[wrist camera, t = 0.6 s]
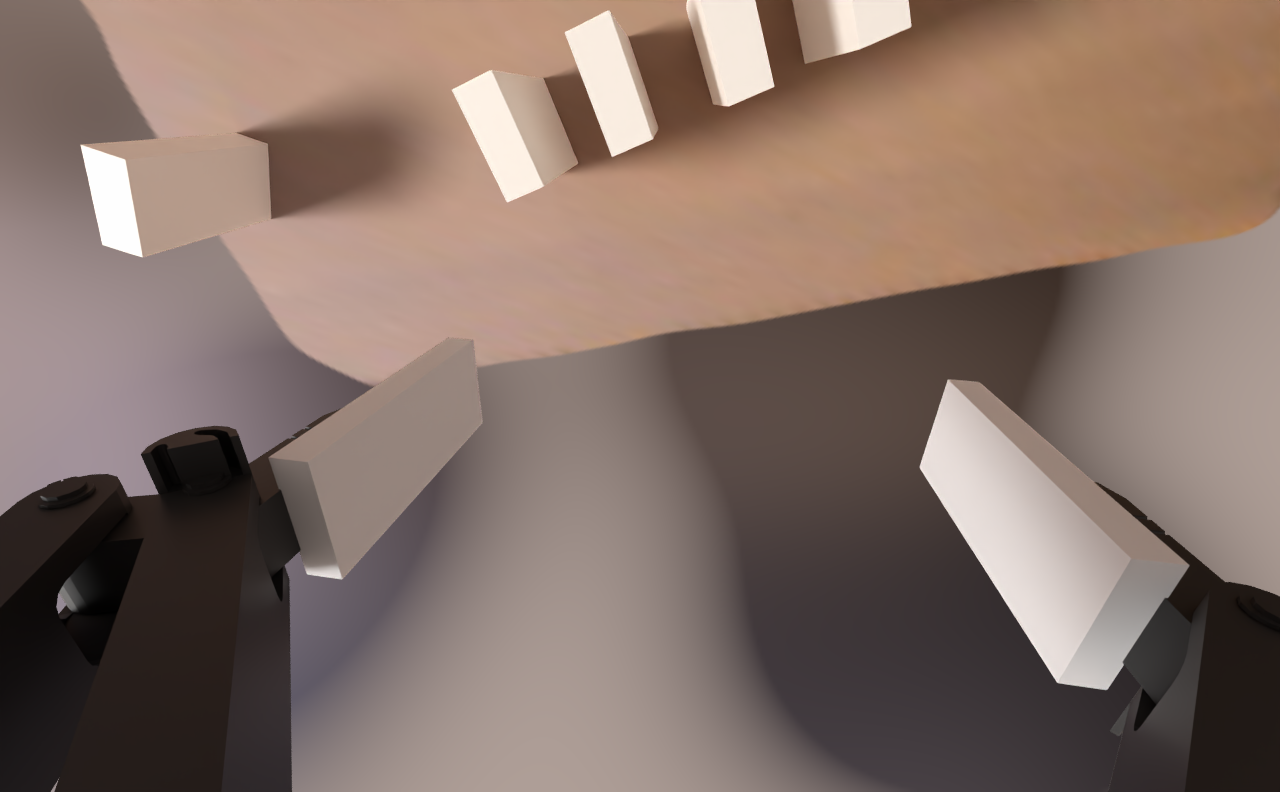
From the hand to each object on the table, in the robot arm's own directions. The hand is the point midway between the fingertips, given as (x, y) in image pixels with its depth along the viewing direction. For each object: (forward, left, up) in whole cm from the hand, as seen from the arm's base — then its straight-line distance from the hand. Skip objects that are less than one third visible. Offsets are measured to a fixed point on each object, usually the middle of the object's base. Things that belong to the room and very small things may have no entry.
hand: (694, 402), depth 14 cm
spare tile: (+16, -24, -23) cm, 37 cm away
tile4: (-9, -5, -23) cm, 25 cm away
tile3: (-4, -8, -23) cm, 25 cm away
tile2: (+1, -10, -23) cm, 25 cm away
